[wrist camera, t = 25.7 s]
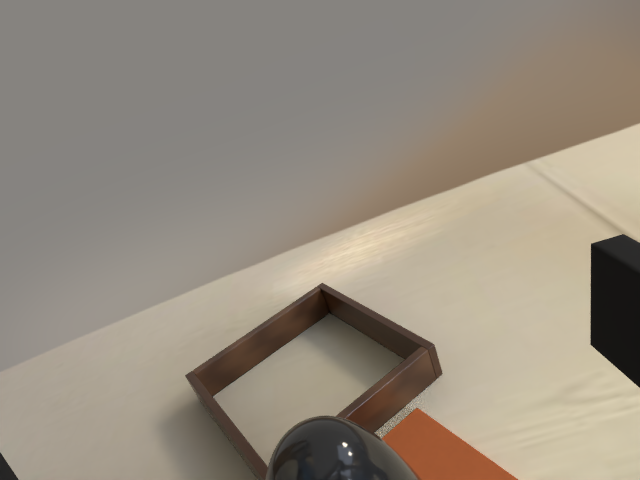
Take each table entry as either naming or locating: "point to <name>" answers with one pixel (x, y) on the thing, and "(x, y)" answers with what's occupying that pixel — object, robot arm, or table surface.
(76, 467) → the table surface
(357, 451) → the pump dispenser
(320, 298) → the brown wooden square frame
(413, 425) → the mat
